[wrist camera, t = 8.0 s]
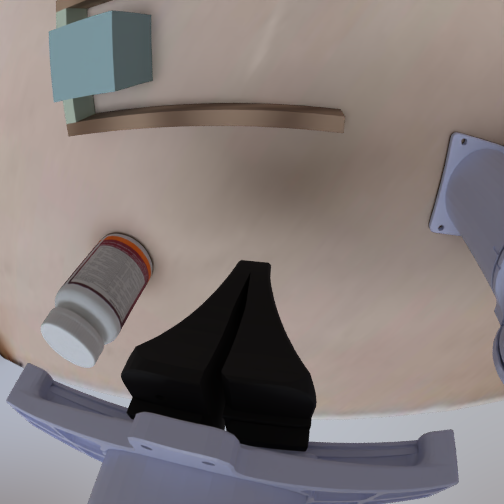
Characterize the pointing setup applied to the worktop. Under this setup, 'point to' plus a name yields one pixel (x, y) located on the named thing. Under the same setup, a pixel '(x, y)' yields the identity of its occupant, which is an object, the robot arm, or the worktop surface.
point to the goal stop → (81, 105)
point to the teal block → (100, 54)
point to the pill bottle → (97, 299)
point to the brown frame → (205, 110)
